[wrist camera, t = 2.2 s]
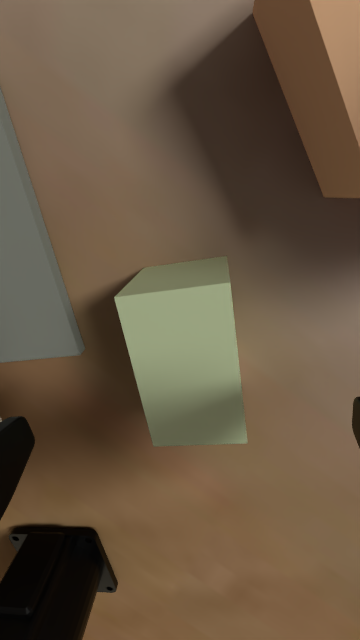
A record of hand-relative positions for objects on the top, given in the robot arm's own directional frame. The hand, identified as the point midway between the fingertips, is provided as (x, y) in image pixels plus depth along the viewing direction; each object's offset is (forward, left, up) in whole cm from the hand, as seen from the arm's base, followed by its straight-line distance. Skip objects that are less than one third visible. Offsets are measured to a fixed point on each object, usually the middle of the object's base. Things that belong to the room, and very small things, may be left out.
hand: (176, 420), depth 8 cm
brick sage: (0, 0, -6) cm, 6 cm away
